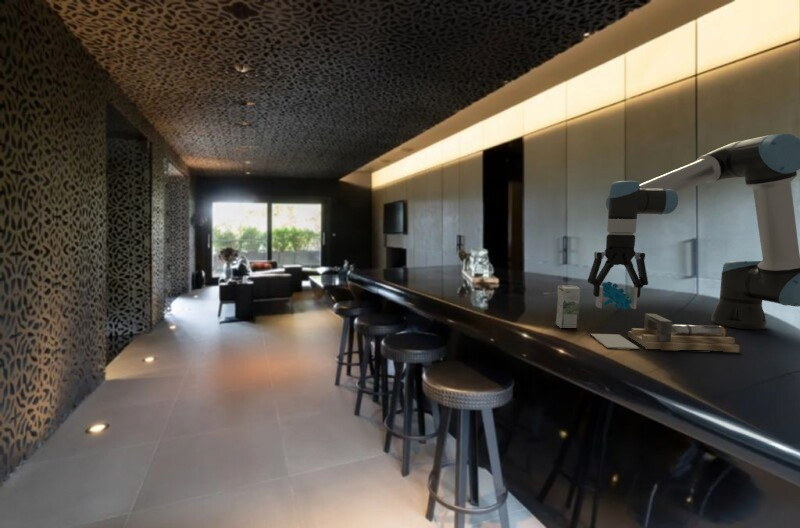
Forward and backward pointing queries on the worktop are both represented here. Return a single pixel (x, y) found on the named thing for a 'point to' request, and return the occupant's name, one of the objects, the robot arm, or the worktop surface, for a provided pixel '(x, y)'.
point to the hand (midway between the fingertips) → (615, 307)
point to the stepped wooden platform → (677, 337)
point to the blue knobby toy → (616, 296)
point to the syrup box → (567, 306)
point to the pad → (614, 341)
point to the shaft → (698, 330)
